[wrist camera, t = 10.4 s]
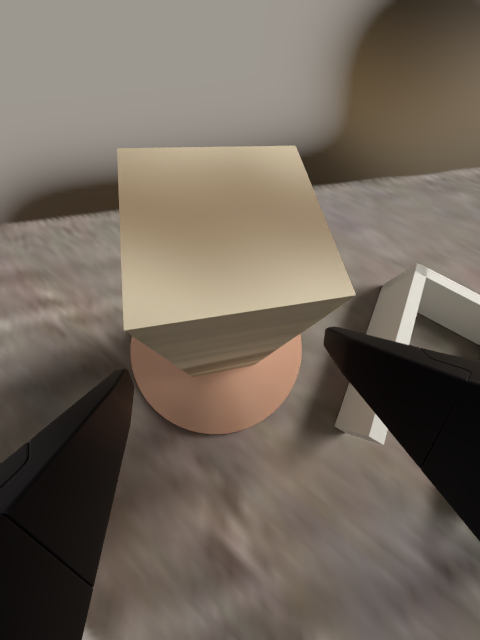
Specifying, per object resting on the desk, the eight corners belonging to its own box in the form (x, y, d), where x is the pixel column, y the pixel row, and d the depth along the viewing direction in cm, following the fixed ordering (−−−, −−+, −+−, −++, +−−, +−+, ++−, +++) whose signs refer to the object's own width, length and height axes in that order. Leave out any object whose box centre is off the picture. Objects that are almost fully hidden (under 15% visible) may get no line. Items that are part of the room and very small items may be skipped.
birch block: (254, 364, 17) (356, 295, 5) (192, 377, 16) (123, 330, 4) (242, 308, 19) (295, 145, 6) (184, 316, 18) (117, 148, 5)
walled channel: (475, 509, 16) (556, 545, 12) (334, 426, 17) (368, 436, 13) (492, 343, 21) (552, 332, 17) (382, 285, 22) (417, 262, 18)
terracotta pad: (106, 416, 15) (102, 417, 15) (161, 256, 20) (159, 252, 19) (293, 446, 16) (295, 448, 15) (303, 285, 21) (306, 282, 20)
